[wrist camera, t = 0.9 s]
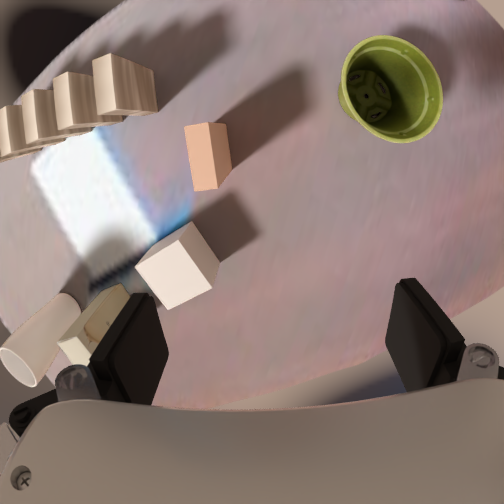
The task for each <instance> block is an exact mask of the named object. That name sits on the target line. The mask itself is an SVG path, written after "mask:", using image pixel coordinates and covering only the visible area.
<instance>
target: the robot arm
mask: <svg viewBox="0 0 504 504" xmlns="http://www.w3.org/2000/svg"><path fill="white" fill-rule="evenodd" d="M463 1H464V0H463ZM464 341H465V339H464V337H463V336H462V335H461V333H460V332H459V331H458V329H457V328H456V327H455V326H454V324H453V323H452V322H451V320H450V319H449V318H448V317H447V315H446V314H445V313H444V312H443V310H442V309H441V308H440V307H439V305H438V304H437V303H436V302H435V301H434V299H433V298H432V297H431V296H430V295H429V293H428V292H427V291H426V290H425V289H424V288H423V286H422V285H421V284H420V283H419V282H418V281H417V279H416V278H406V279H401V280H400V282H399V283H397V284H396V286H395V292H394V298H393V303H392V309H391V314H390V319H389V324H388V329H387V333H386V338H385V343H386V347H387V349H388V351H389V353H390V355H391V358H392V360H393V362H394V364H395V366H396V369H397V371H398V373H399V375H400V377H401V380H402V382H403V384H404V387H405V389H406V391H407V393H401V394H396V395H391V396H385V397H380V398H374V399H368V400H362V401H354V402H347V403H339V404H330V405H322V406H310V407H298V408H282V409H255V410H219V409H218V410H217V409H192V408H176V407H163V406H152V405H151V404H152V401H153V398H154V395H155V393H156V390H157V387H158V384H159V381H160V379H161V376H162V373H163V370H164V368H165V365H166V362H167V360H168V356H169V351H168V347H167V344H166V340H165V337H164V334H163V330H162V327H161V323H160V320H159V316H158V313H157V309H156V305H155V301H154V298H153V297H152V296H149V294H148V293H133V294H132V295H131V297H130V298H129V300H128V301H127V303H126V304H125V305H124V307H123V308H122V310H121V311H120V313H119V314H118V316H117V317H116V319H115V320H114V321H113V323H112V324H111V326H110V327H109V329H108V330H107V332H106V333H105V335H104V336H103V338H102V340H101V341H100V343H99V344H98V346H97V347H96V349H95V350H94V352H93V353H92V355H91V357H90V358H89V361H90V362H89V364H88V365H87V366H85V365H82V364H74V365H71V366H68V367H66V368H64V369H63V370H62V371H60V373H59V374H58V375H57V377H56V379H55V387H56V389H54V390H51V391H49V392H47V393H45V394H42V395H40V396H38V397H35V398H33V399H31V400H28V401H26V402H24V403H21V404H20V405H18V406H16V407H15V408H14V409H13V411H12V412H11V414H10V417H9V424H8V425H7V424H6V423H5V422H4V423H3V424H2V425H1V426H0V504H504V368H503V367H501V366H499V357H498V355H497V353H496V352H495V351H494V349H492V348H490V347H489V346H487V345H485V344H480V343H473V344H471V345H469V346H466V345H465V343H464Z"/></svg>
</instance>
